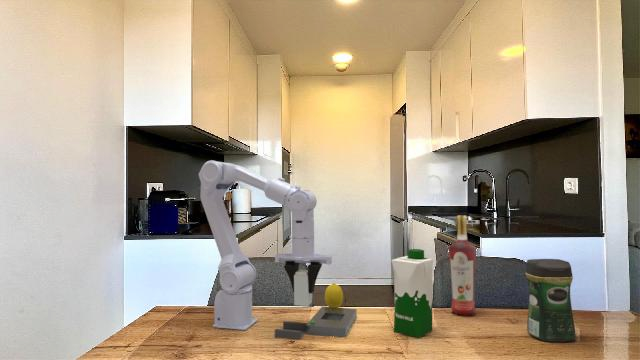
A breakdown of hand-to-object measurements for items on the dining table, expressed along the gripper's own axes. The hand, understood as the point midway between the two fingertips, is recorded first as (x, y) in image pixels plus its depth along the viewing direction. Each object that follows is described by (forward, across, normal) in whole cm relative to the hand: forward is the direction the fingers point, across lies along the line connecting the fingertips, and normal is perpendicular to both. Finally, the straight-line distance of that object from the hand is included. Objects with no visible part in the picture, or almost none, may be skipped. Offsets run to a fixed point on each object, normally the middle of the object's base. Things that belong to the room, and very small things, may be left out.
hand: (303, 291), depth 97 cm
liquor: (+10, +40, +25) cm, 48 cm away
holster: (+10, -2, -2) cm, 10 cm away
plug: (+3, 0, 0) cm, 3 cm away
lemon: (+10, +3, +19) cm, 22 cm away
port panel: (+10, +6, +6) cm, 13 cm away
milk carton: (+10, +26, +7) cm, 29 cm away
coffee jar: (+10, +58, +12) cm, 60 cm away
